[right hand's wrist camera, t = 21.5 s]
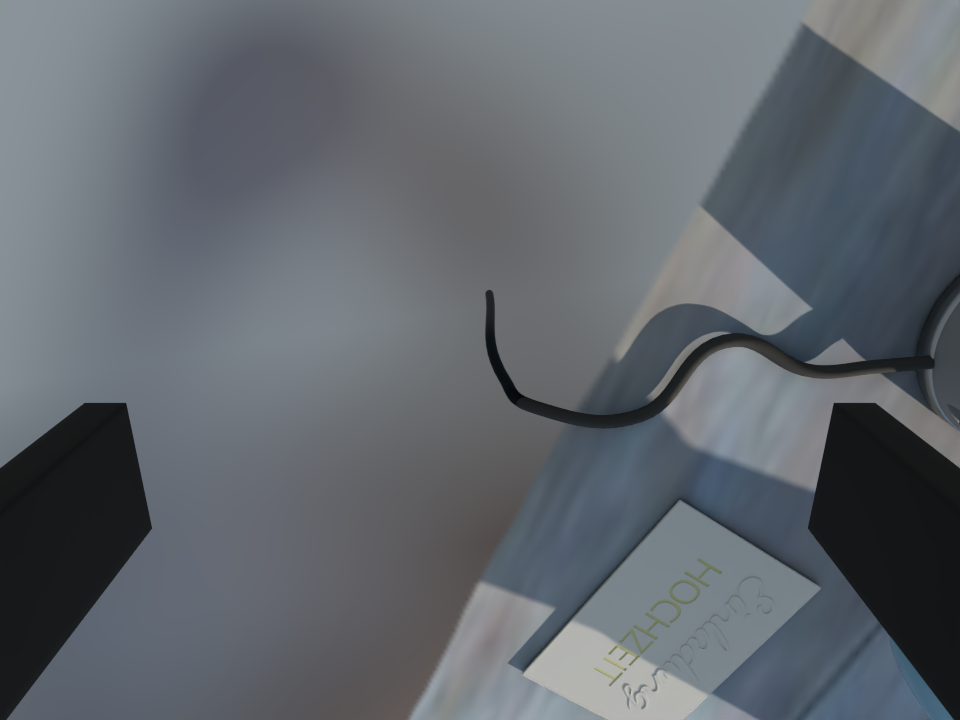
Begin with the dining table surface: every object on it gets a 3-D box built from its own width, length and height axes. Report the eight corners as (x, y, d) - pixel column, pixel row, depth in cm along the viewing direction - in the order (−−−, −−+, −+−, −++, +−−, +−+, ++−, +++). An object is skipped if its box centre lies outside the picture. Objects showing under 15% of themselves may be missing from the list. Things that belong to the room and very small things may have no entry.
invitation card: (680, 501, 52) (821, 588, 55) (679, 499, 53) (820, 586, 56) (522, 675, 59) (656, 745, 62) (521, 673, 59) (655, 743, 62)
